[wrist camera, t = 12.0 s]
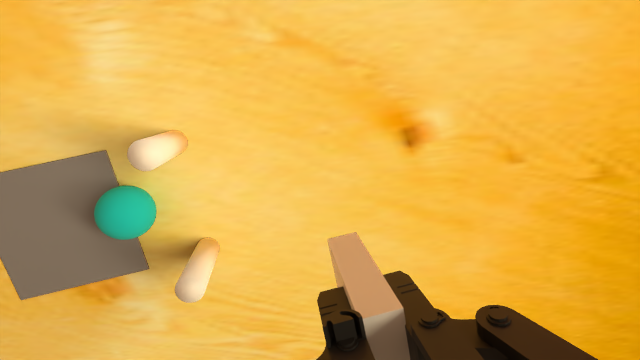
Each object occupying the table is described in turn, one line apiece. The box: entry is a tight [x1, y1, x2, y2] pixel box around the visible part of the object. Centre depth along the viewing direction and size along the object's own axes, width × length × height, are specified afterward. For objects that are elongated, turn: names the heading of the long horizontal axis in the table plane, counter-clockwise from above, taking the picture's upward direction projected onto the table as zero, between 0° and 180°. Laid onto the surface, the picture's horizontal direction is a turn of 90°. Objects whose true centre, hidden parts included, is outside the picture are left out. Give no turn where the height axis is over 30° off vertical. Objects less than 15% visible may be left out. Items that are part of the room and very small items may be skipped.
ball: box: [94, 186, 156, 240], centre depth 35 cm, size 6×6×6 cm
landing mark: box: [0, 150, 149, 300], centre depth 37 cm, size 14×14×1 cm
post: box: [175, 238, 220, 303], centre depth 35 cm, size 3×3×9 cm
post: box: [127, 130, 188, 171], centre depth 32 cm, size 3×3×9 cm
